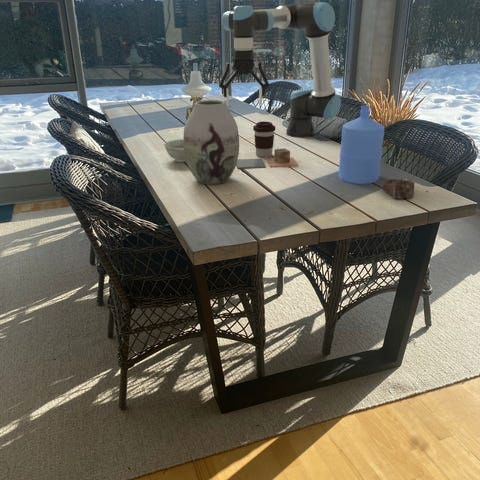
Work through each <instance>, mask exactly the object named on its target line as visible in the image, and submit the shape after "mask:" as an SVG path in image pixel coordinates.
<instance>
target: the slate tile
mask: <svg viewBox="0 0 480 480" xmlns="http://www.w3.org/2000/svg"><path fill="white" fill-rule="evenodd" d="M266 167H267V166H266V164H265V162H264V160H263V157H260V158H243V159H241V158H240V159H239V158H238V160H237V164H236V169H237V170H240V169H241V170H242V169H245V170H247V169H261V168H262V169H263V168H265V169H266Z"/></svg>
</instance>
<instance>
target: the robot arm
mask: <svg viewBox="0 0 480 480" xmlns="http://www.w3.org/2000/svg"><path fill="white" fill-rule="evenodd" d="M335 14H336V13H335V10H334V8H333V6H332V5H330V3H328V2H322V1H318V2H317V1H315V2H313V1H312V2H311V1H309V2H296V3H291V4H286V5H285V4H284V5H279V6H278V7H276V8H268V9H267V8H266V9H254V7H253V6H252V5H235V6H234V7H233V10H230V11H229V10H228V11H226V12H224V13H223V14H222V17H221V26H222V27H223V29H224V30H225V31H229V32H233V48H234V50H233V58H234V59H233V62H232V63H231V62H226V65H225V70H224V72H223V74H222V77H221V79H220V81H219V83H218V87H219V88H220V89H222V90H223V91H222V93H223V97H224V98H226V100H225V101H226V102H225V103H226V106H227V107H229V106H230V104H229V103H230V102H229V100H230V98H229V96H230V94H229V88H228V87H229V86H230V85H231V83H232V82H233V81H234V79H235V78H236V77H237V75H241V76H242V75H249V74H250V75H251V76H252V77H253V78H254V80H255V82H257V83H258V85H260V86H259V87H258V88H259V89H258V91H259V93H258V97H259V99H258V102H259V103H258V104H259V105H261V106H262V105H263V97H265V95H266V94H265V92H266V91H265V89H266V88H267V87H269V86H270V83H269V80H268V79H267V77H266V74H265V72H264V69H263V68H262V67H263V66H262V62H261V61H258V62H255V61H254V50H253V48H254V33H266V32H268V31H271V30H272V28H278V29H281V30H284V29H285V30H295V31H304V36H305V37H304V38H306V39H307V40H308V41H309V42H308V45H309V53H310V62H311V65H310V66H311V72H312V74H311V75H312V81H313V83H312V84H313V88H304V89H297V90H296V89H295V90H293V91H292V92H291V94H290V107H289V110H290V112H289V113H290V114H289V122H288V125H287V128H286V131H285V133H286V136H288V137H291V138H309V137H314V136H315V135H316V130H315V129H316V128H315V126H314V122H313V117H315V118H320V119H321V118H322V119H328V120H329V119H334V118H336V116H337V115H338V113H339V111H340V109H341V106H342V99H341V97H340V95H338V94H336V88H335V87H333V86H332V76H331V75H332V74H331V63H330V62H331V61H330V60H331V59H330V50H329V38H328V37H329V36H330V34H331V31H332V30H333V29H334V26H335V22H336V15H335ZM254 67H255V68H257V70H258V72H259V73H260V76H261V78H262V80H263V82H262V81H261V79H260V78H259V77H258V76H257V74H256V73H255V72H254V70H253V69H254ZM232 68H233V69H234V71H233V73H231V75H230V77H229V78H228V80H227V81H226V78H227V77H228V74H229V72H230V70H231V69H232ZM225 81H226V82H225Z"/></svg>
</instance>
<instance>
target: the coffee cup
mask: <svg viewBox="0 0 480 480" xmlns="http://www.w3.org/2000/svg"><path fill="white" fill-rule="evenodd" d="M252 127H253V128H252V129H253V131H254V136H253V137H254V147H255V156H256V157H257V158H271V157H272V156H273V150H274V149H273V148H274V140H275V131H276V125H274V124H273V122H270V121H258V122H256V124H255V125H254V126H252Z"/></svg>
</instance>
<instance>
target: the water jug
mask: <svg viewBox="0 0 480 480" xmlns="http://www.w3.org/2000/svg"><path fill="white" fill-rule="evenodd" d="M359 114H360V116H359V117H357V118H355V119H352V120H350V121H348V122H346V123H343V125H342V130H341V143H340V151H339V168H338V174H337V175H338V180H341V181H343V182H346V183H350V184H356V185H357V184H358V185H361V184H362V185H366V184H367V185H368V184H372V183H375V182H378V181H379V180H380V170H381V162H382V161H381V160H382V155H383V153H382V151H383V143H384V137H385V126H384V125H383V124H382V123H380V122H378V121H376V120H374V119H373V118H370V117H369V116H370V115H369V114H370V105H361V106H360V113H359Z"/></svg>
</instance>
